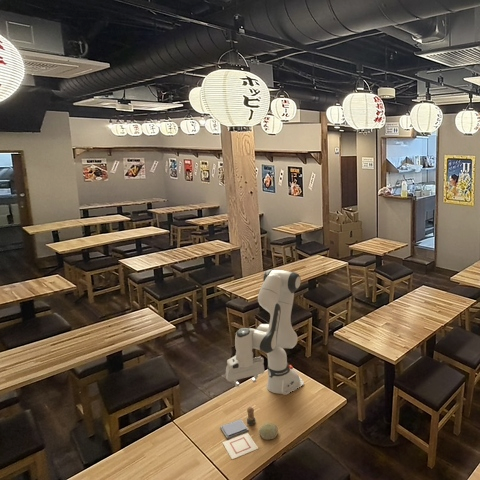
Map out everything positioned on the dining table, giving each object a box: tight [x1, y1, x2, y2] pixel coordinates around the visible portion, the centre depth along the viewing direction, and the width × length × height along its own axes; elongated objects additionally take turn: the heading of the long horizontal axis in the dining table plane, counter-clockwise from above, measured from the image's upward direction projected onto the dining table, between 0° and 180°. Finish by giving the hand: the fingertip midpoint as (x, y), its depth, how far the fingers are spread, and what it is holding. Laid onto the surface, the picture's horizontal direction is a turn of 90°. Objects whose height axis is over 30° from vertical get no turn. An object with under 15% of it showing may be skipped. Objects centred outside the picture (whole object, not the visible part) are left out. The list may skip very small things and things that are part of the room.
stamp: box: [246, 406, 256, 427], centre depth 211 cm, size 4×4×9 cm
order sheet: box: [222, 432, 259, 460], centre depth 197 cm, size 14×12×1 cm
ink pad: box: [220, 418, 249, 440], centre depth 207 cm, size 12×9×2 cm
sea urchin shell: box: [258, 422, 279, 441], centre depth 202 cm, size 9×8×8 cm
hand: (245, 383), depth 208 cm, fingers open, 8 cm apart
